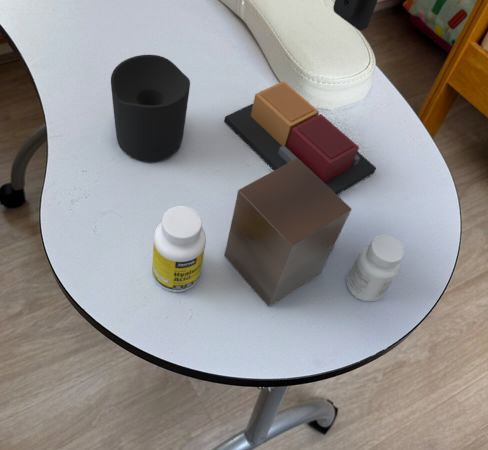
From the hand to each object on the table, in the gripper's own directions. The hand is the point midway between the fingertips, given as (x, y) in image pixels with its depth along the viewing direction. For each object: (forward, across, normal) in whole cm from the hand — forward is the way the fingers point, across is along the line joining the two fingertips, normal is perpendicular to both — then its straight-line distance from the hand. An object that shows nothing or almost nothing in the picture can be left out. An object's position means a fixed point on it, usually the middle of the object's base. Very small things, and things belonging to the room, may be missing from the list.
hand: (392, 1), depth 46 cm
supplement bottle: (+31, -17, +3) cm, 35 cm away
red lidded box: (+29, +8, +7) cm, 31 cm away
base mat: (+30, +8, +10) cm, 33 cm away
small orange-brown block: (+29, +8, +14) cm, 33 cm away
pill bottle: (+31, 0, -10) cm, 32 cm away
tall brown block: (+30, -7, -2) cm, 31 cm away
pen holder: (+31, -8, +22) cm, 38 cm away
